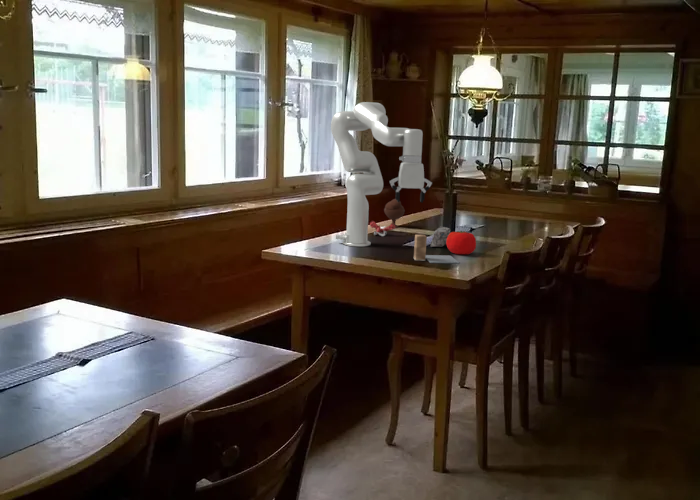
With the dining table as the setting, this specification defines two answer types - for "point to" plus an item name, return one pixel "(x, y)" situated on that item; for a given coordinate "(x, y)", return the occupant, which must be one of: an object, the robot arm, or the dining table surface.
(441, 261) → the mat
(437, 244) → the rock
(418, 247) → the block
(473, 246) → the tomato
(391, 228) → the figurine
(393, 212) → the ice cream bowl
